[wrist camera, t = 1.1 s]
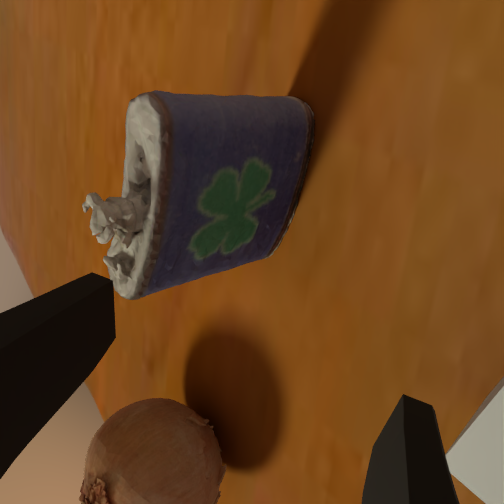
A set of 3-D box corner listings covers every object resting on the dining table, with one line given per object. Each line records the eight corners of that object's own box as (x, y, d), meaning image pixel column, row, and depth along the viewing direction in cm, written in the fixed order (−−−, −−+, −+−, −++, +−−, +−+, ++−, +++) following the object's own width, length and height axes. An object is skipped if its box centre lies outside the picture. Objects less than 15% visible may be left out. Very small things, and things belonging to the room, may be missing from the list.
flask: (285, 89, 22) (77, 79, 14) (331, 111, 20) (126, 113, 13) (240, 243, 27) (66, 295, 19) (274, 271, 25) (100, 338, 18)
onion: (176, 352, 34) (45, 413, 27) (265, 431, 29) (130, 532, 22) (166, 437, 38) (50, 509, 32) (241, 521, 33) (122, 629, 26)
